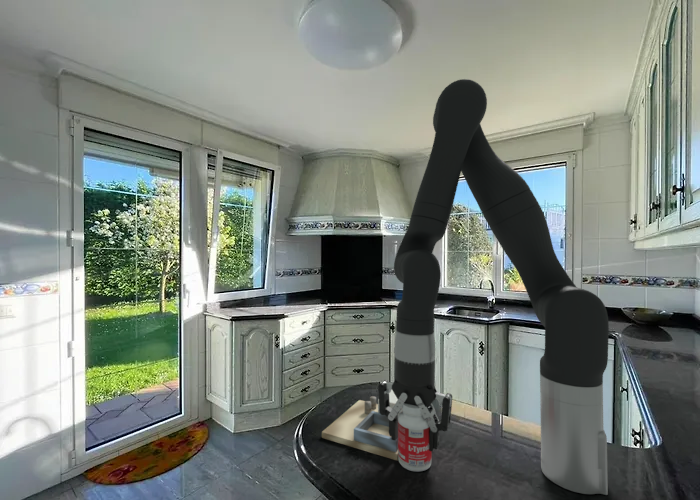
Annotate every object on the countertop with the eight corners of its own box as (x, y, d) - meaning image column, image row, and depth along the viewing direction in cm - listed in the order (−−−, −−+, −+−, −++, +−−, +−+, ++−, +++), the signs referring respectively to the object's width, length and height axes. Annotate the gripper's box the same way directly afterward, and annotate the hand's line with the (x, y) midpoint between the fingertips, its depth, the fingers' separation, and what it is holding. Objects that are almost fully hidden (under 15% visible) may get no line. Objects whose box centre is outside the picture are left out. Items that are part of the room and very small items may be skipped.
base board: (423, 419, 79) (423, 403, 79) (397, 460, 63) (397, 440, 63) (359, 404, 87) (359, 390, 87) (321, 437, 71) (321, 420, 71)
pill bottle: (407, 476, 58) (406, 412, 59) (392, 456, 64) (392, 398, 64) (438, 469, 60) (437, 407, 60) (421, 450, 66) (420, 394, 66)
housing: (416, 413, 79) (416, 394, 79) (407, 427, 73) (407, 406, 73) (389, 407, 82) (389, 389, 82) (378, 419, 76) (378, 399, 76)
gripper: (457, 356, 63) (456, 444, 62) (386, 345, 69) (385, 425, 69) (449, 367, 56) (447, 467, 56) (371, 354, 63) (370, 442, 63)
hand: (413, 443), depth 62 cm, fingers open, 6 cm apart
